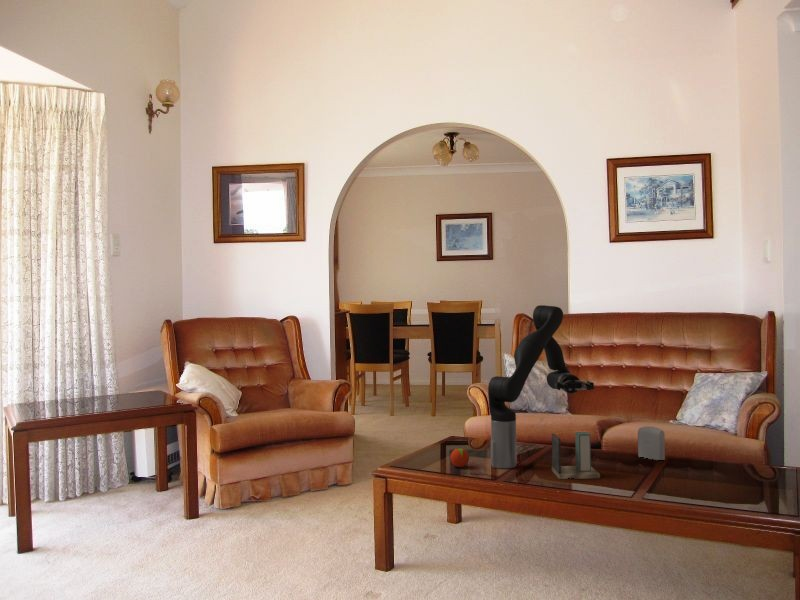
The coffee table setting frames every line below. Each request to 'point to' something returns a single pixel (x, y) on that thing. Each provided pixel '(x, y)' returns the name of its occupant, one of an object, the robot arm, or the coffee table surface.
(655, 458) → the photo printer
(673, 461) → the coffee table surface
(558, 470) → the desktop book rack
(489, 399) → the robot arm
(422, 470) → the coffee table surface
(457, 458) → the tomato
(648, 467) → the coffee table surface
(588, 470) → the tall sage green prism
